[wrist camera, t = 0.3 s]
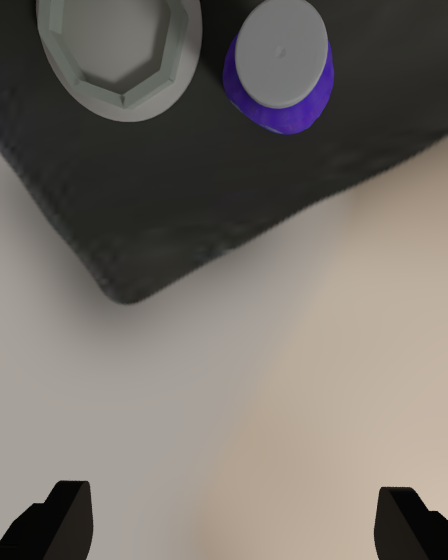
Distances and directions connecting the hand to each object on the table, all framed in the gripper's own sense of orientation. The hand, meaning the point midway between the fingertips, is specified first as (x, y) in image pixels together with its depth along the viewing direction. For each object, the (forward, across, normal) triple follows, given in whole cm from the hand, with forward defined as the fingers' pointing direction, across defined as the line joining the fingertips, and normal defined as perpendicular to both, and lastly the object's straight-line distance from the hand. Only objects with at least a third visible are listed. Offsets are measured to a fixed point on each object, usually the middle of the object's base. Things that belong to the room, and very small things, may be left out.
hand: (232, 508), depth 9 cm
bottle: (+25, -4, -19) cm, 32 cm away
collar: (+26, +10, -24) cm, 36 cm away
